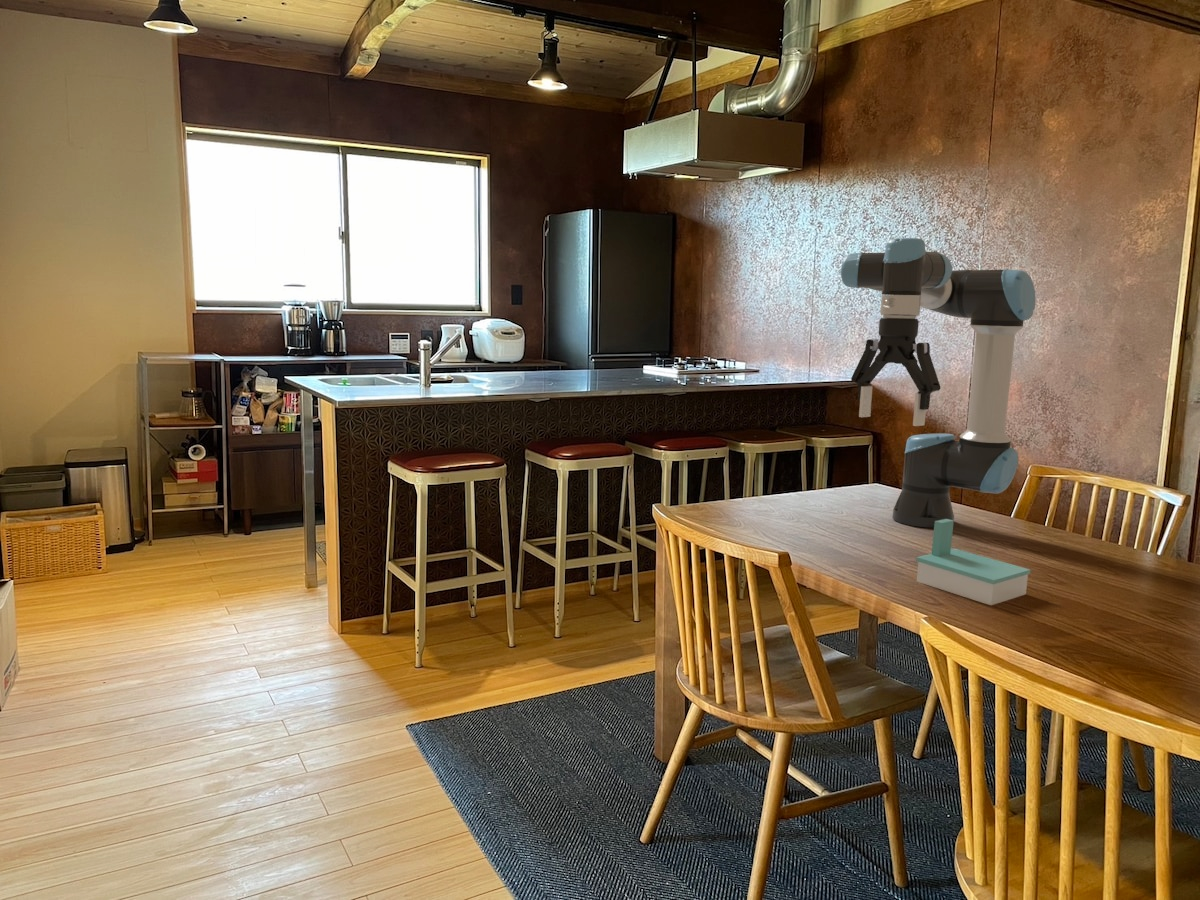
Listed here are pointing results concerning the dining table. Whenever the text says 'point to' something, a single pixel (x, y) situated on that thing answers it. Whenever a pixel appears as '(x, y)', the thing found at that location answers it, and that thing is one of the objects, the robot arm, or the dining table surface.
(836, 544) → the dining table surface
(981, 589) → the tub
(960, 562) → the lid
